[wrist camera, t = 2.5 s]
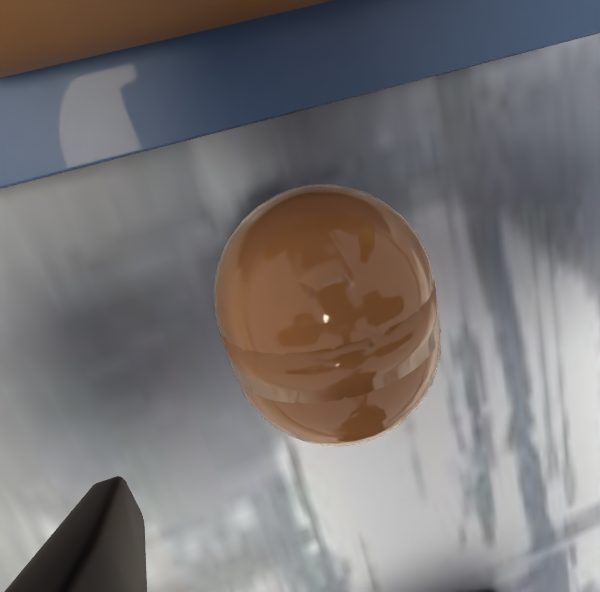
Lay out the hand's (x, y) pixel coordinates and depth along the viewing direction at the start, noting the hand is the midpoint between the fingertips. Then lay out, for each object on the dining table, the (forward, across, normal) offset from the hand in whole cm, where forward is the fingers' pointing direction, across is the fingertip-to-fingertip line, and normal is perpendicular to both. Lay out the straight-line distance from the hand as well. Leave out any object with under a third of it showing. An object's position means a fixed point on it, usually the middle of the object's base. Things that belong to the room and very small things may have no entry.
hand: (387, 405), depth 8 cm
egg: (+4, 0, 0) cm, 4 cm away
